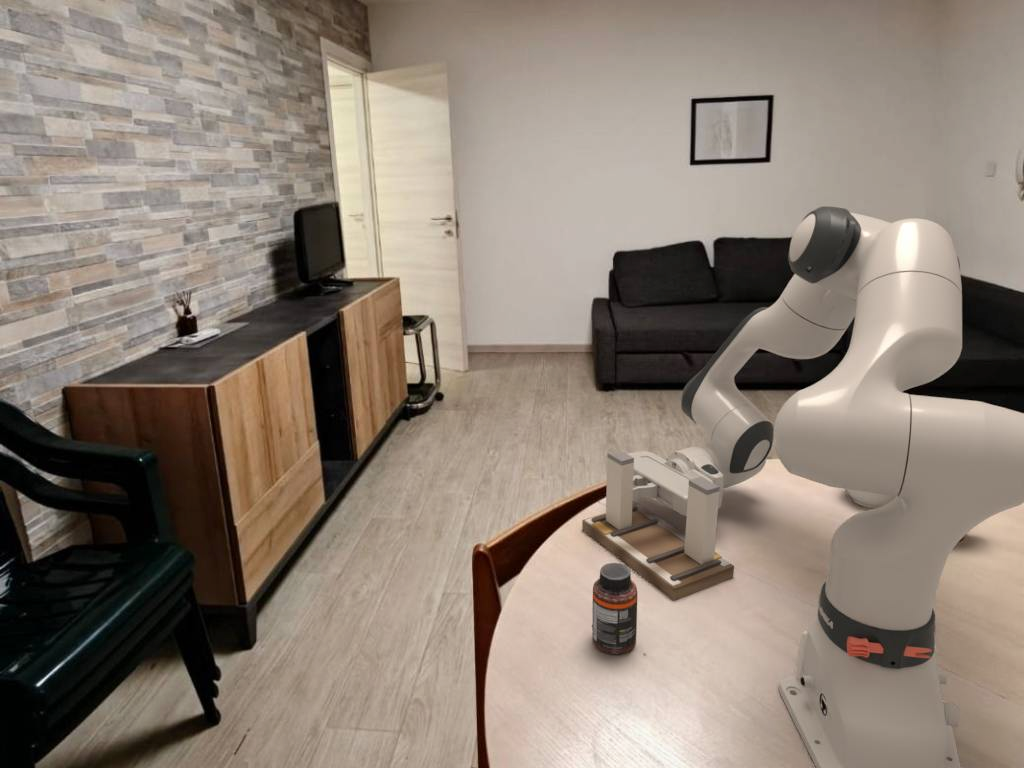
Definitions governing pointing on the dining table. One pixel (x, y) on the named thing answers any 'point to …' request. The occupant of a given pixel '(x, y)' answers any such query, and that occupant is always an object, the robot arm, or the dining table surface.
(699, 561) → the tab
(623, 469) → the tab
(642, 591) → the dining table surface
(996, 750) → the dining table surface
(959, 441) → the robot arm
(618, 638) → the supplement bottle
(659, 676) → the dining table surface
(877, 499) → the lidded bowl
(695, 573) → the slotted wooden base
